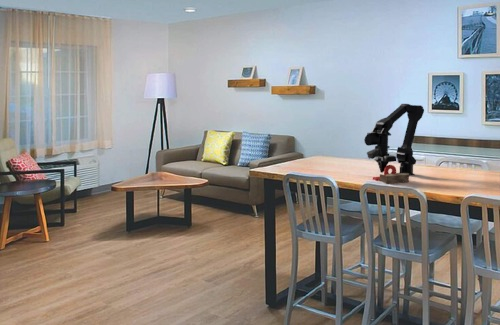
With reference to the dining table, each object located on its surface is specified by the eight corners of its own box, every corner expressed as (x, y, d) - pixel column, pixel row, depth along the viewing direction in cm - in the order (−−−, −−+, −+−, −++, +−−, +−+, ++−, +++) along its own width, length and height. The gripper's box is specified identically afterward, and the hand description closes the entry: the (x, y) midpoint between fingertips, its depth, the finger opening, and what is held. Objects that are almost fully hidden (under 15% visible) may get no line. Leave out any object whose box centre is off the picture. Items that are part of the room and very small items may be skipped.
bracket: (391, 177, 267) (391, 163, 266) (396, 179, 263) (396, 164, 262) (371, 179, 264) (372, 164, 263) (376, 180, 260) (376, 166, 259)
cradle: (399, 179, 262) (399, 170, 261) (408, 182, 254) (409, 173, 253) (378, 181, 258) (378, 172, 257) (387, 184, 250) (387, 175, 249)
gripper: (360, 143, 270) (360, 170, 273) (378, 147, 252) (378, 176, 255) (378, 142, 273) (377, 169, 276) (397, 145, 256) (396, 174, 258)
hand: (381, 172), depth 266 cm, fingers closed
